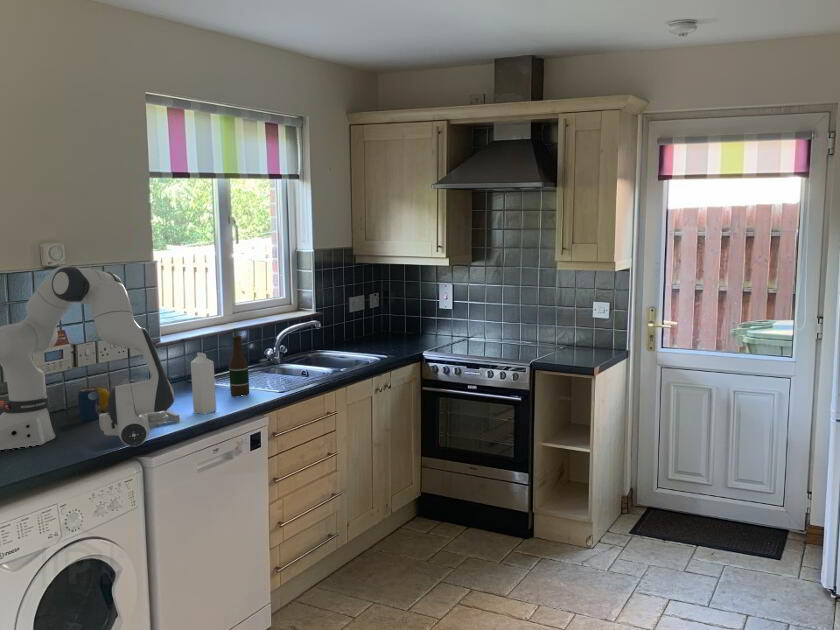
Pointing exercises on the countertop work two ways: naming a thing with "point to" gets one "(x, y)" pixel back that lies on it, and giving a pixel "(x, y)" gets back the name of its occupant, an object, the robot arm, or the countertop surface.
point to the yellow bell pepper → (103, 398)
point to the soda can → (88, 404)
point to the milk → (203, 384)
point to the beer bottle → (238, 370)
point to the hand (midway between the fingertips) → (133, 412)
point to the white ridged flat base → (168, 420)
